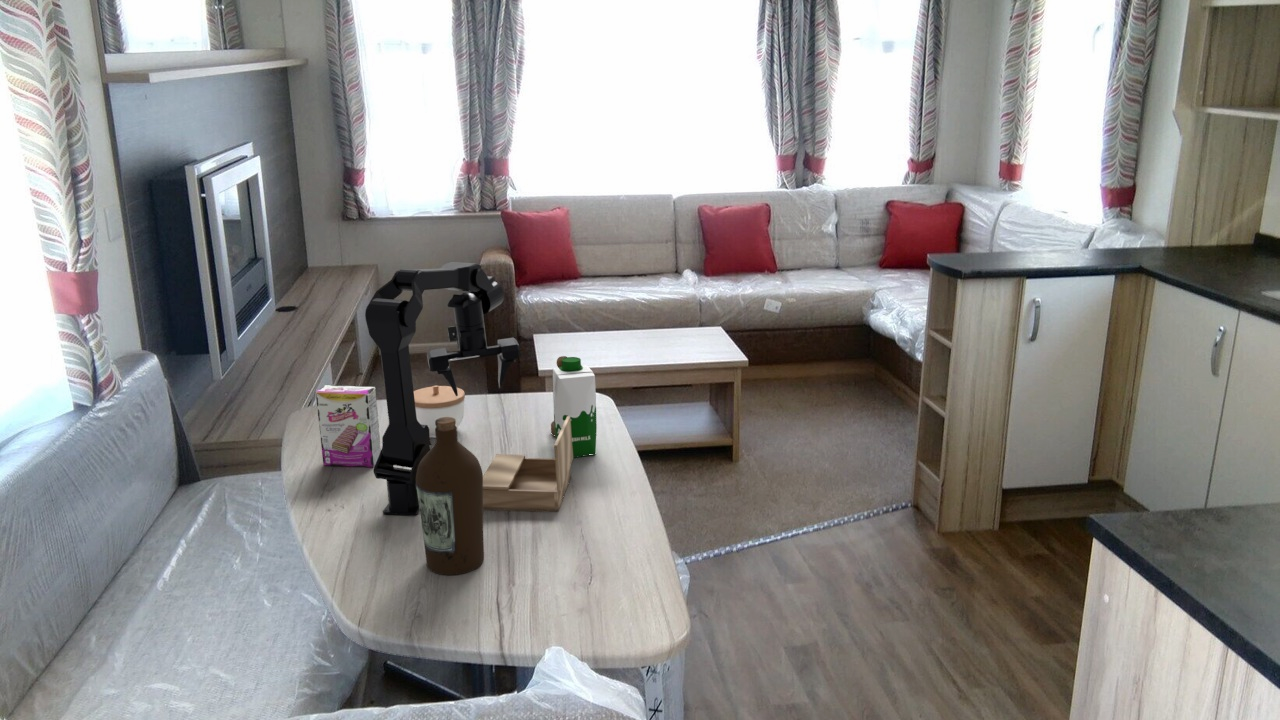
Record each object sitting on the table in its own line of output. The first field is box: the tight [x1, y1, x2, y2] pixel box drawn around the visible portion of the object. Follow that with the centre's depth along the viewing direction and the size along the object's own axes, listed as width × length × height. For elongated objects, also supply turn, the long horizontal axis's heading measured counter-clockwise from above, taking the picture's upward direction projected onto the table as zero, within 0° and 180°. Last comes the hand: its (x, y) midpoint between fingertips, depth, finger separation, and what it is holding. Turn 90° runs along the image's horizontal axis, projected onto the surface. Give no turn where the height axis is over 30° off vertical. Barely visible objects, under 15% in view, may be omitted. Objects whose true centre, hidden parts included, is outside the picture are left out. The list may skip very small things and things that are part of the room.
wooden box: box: [483, 457, 572, 512], centre depth 184 cm, size 16×15×4 cm
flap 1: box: [483, 453, 526, 490], centre depth 183 cm, size 16×6×1 cm, turn 175°
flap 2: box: [553, 416, 574, 491], centre depth 181 cm, size 16×9×1 cm
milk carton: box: [552, 356, 598, 458], centre depth 202 cm, size 9×9×20 cm
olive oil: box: [416, 417, 485, 576], centre depth 154 cm, size 11×11×25 cm
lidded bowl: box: [413, 385, 466, 439], centre depth 215 cm, size 13×13×11 cm
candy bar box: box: [315, 384, 382, 468], centre depth 197 cm, size 11×5×16 cm, turn 84°
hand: (478, 391), depth 200 cm, fingers open, 9 cm apart
